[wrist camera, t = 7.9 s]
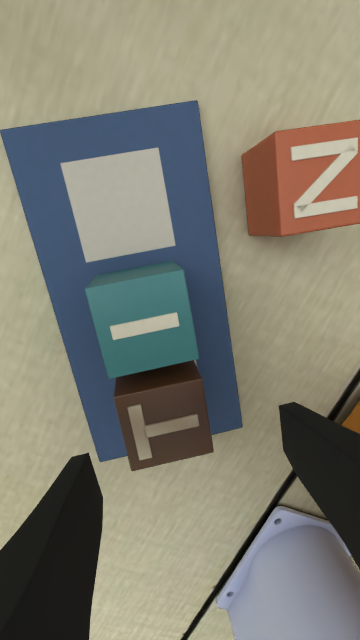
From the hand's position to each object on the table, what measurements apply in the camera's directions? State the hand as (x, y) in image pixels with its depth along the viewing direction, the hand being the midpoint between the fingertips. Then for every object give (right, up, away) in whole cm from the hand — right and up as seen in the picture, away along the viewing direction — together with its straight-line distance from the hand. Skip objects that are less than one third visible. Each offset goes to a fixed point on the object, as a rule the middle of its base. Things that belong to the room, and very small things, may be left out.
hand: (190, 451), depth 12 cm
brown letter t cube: (-2, +1, +7) cm, 7 cm away
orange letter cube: (+5, +12, +5) cm, 14 cm away
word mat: (-2, +6, +6) cm, 8 cm away
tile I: (-2, +6, +5) cm, 8 cm away
